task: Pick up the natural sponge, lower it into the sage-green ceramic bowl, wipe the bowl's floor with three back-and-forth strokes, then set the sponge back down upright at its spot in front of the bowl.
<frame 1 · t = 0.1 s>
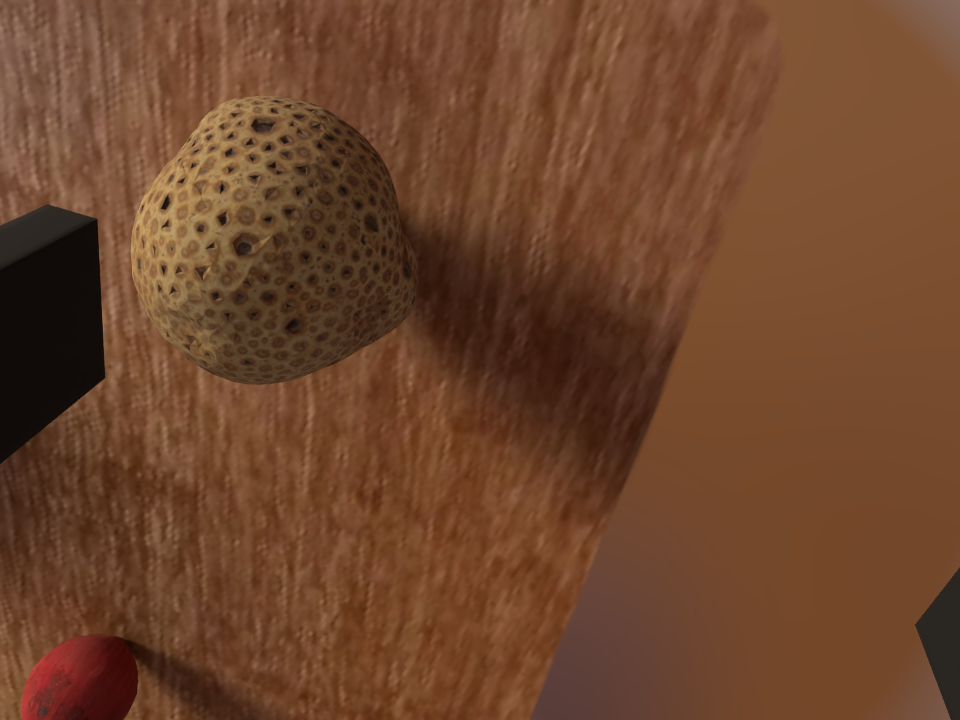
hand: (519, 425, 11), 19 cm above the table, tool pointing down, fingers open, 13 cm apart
natural sponge: (334, 194, 30), on the table
onion: (122, 636, 47), on the table
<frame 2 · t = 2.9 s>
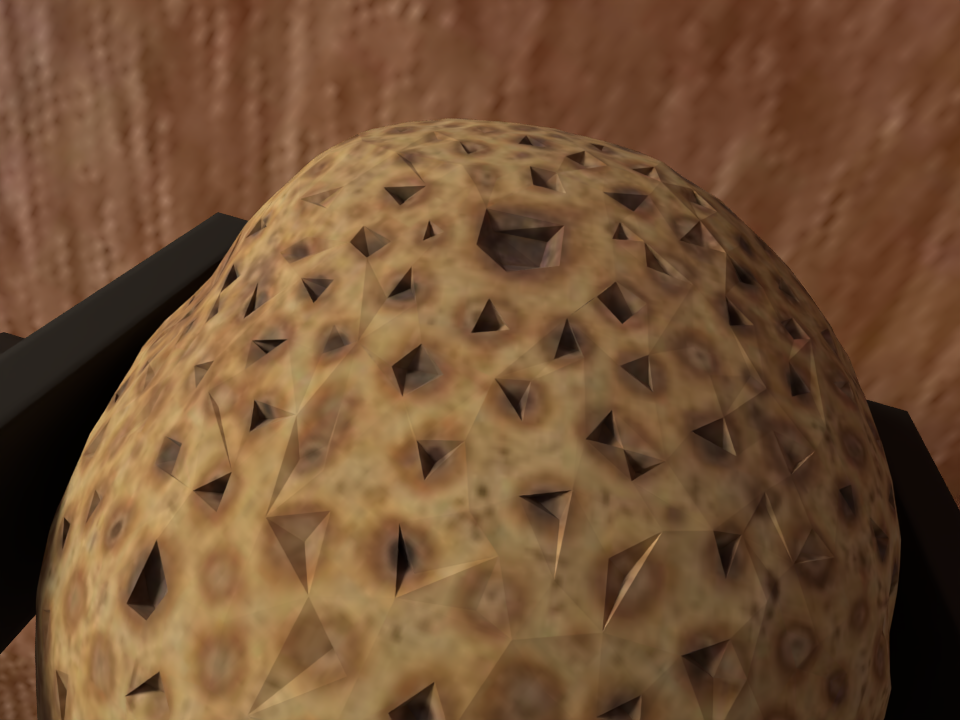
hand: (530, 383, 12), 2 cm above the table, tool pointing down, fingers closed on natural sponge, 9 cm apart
natural sponge: (534, 328, 14), on the table, touching gripper
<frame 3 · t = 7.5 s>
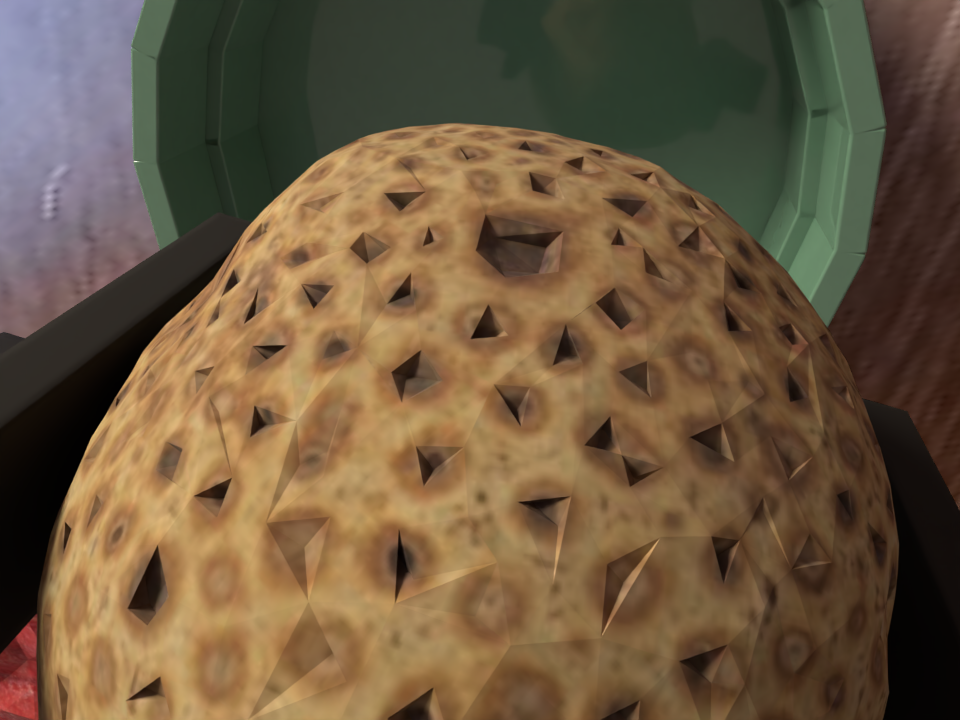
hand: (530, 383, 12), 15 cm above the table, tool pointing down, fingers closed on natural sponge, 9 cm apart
natural sponge: (534, 331, 14), point 13 cm above the table, touching gripper
green bowl: (511, 149, 25), on the table
cake: (135, 598, 41), on the table
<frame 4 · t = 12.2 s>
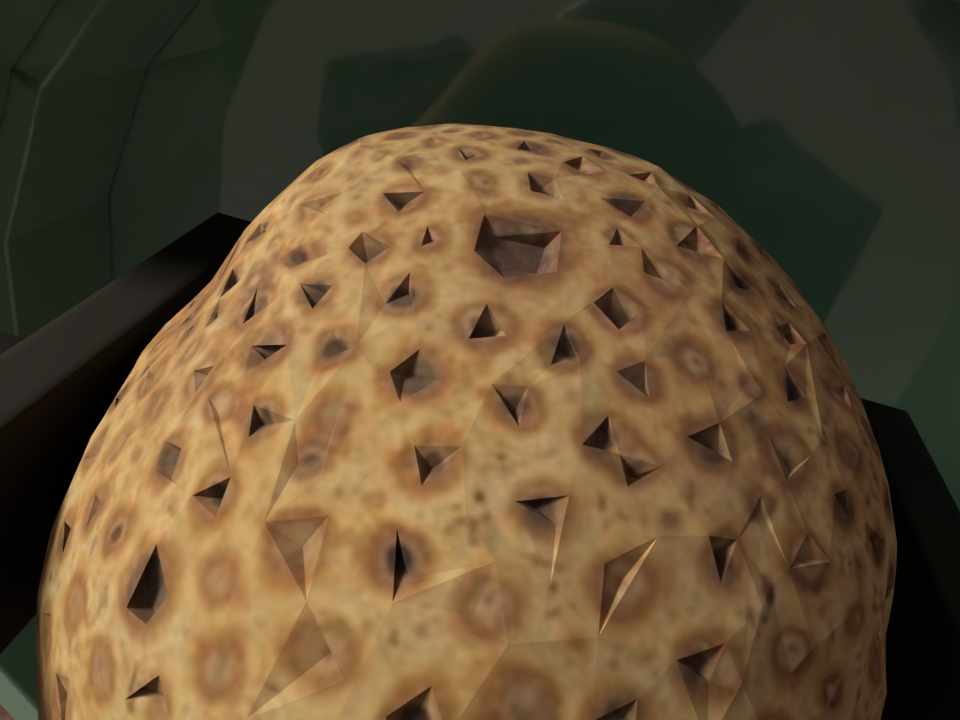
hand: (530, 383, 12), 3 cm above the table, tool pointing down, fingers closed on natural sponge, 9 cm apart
natural sponge: (534, 330, 14), point 1 cm above the table, touching gripper
green bowl: (533, 365, 15), on the table
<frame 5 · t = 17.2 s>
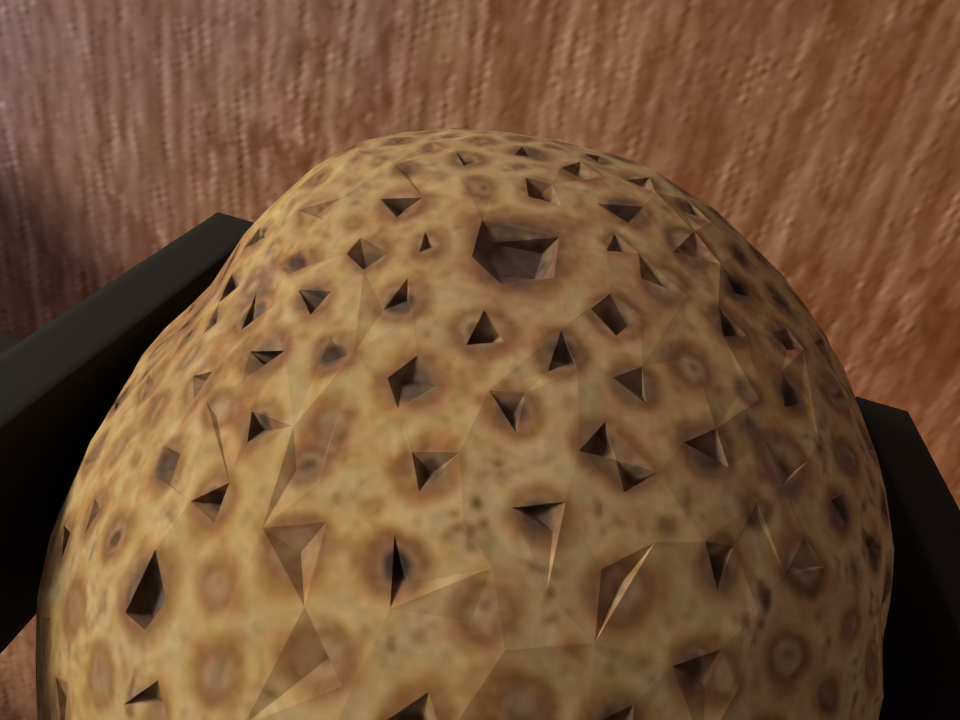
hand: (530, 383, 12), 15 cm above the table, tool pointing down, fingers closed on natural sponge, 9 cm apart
natural sponge: (533, 333, 14), point 13 cm above the table, touching gripper
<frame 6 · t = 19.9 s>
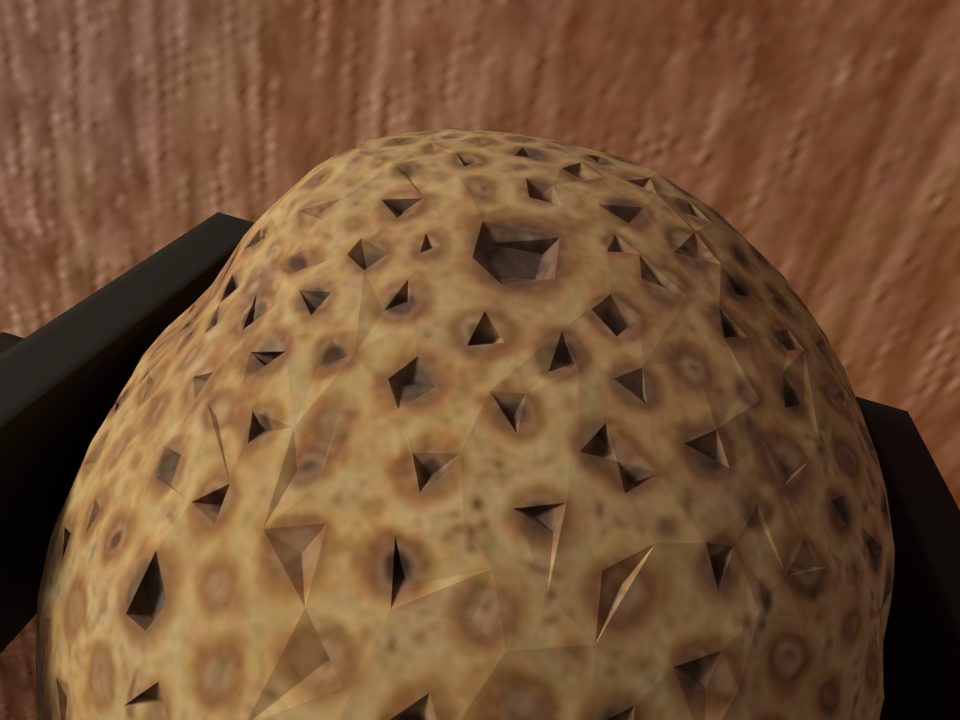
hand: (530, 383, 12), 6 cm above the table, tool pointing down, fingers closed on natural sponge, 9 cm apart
natural sponge: (533, 333, 14), point 4 cm above the table, touching gripper
when the fingers open (2 cm above the table, at t = 21.6 s): natural sponge stays where it is, on the table.
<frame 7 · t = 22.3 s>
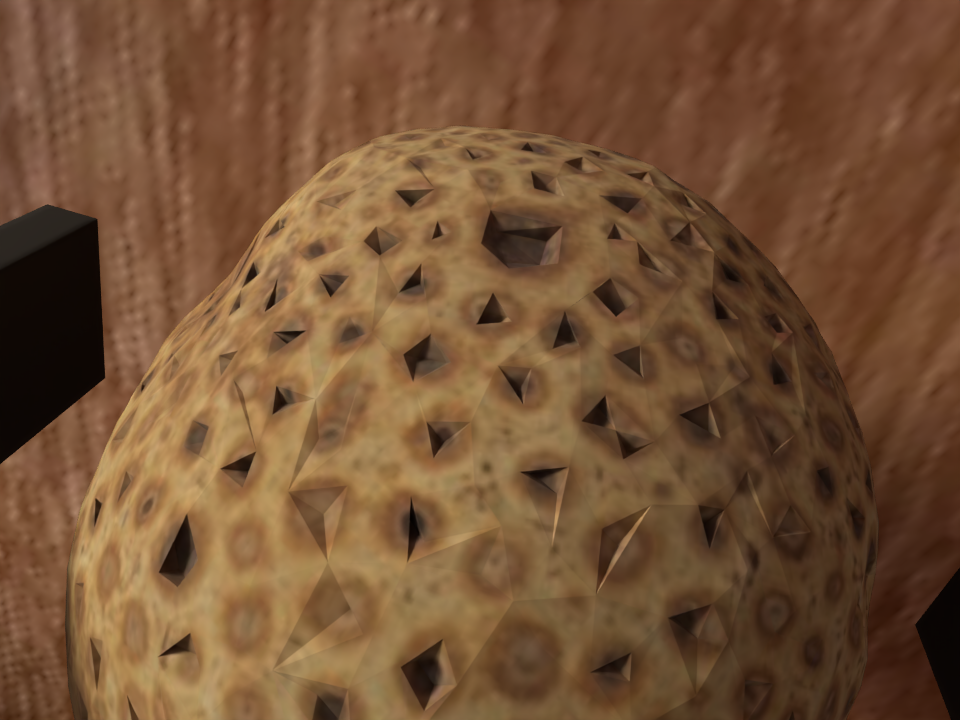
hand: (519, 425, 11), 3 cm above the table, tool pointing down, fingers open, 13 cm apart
natural sponge: (536, 327, 14), on the table
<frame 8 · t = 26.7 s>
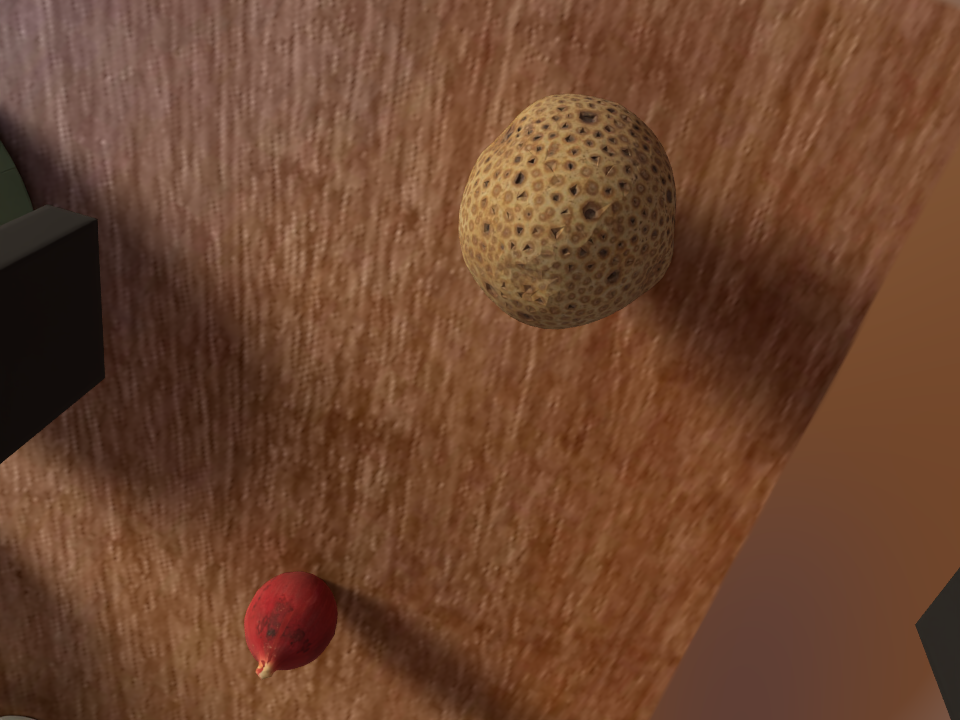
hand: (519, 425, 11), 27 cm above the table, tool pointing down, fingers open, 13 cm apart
natural sponge: (579, 176, 36), on the table
onion: (314, 575, 53), on the table
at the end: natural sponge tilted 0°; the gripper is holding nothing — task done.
